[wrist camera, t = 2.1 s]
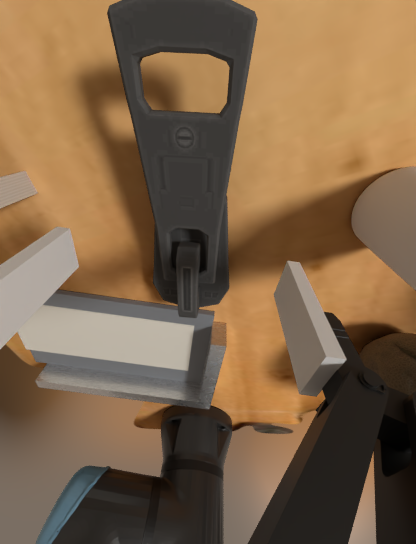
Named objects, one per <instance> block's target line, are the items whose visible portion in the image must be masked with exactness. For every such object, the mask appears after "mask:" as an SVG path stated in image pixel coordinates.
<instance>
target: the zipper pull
mask: <svg viewBox="0 0 416 544" xmlns="http://www.w3.org/2000/svg"><path fill="white" fill-rule="evenodd" d="M107 14H108V19H109V23H110V28H111V32H112V37H113V41H114V46H115V50H116V55H117V59H118V63H119V68H120V72H121V77H122V81H123V86H124V90H125V95H126V99H127V103H128V107H129V111H130V114H131V119H132V123H133V128H134V132H135V136H136V141H137V145H138V150H139V154H140V158H141V163H142V167H143V172H144V176H145V181H146V185H147V189H148V194H149V198H150V203H151V207H152V212H153V216H154V220H155V242H154V275H153V284H154V285H155V287H156V289H157V290H158V292H159V294H160V295H161V297H162V298H163V300H165V301H168V302H171V303H174V304H178V315H179V317H186V318H197V316H198V311H199V307H204V306H210V305H216V304H219V303H220V301H221V300H222V298H223V297H224V295H225V294H226V292H227V291H228V289H229V266H228V214H227V195H226V194H227V188H228V182H229V176H230V171H231V165H232V159H233V154H234V148H235V142H236V136H237V131H238V125H239V120H240V115H241V110H242V106H243V100H244V94H245V88H246V83H247V77H248V71H249V65H250V60H251V54H252V48H253V42H254V36H255V31H256V25H257V17H256V14H255V12H254V11H252V10H250V9H248V8H246V7H244V6H242V5H240V4H238V3H236V2H234V1H232V0H122V1H119V2H117V3H115V4H112V5H110V6H109V9H108V12H107ZM159 52H174V53H196V54H209V55H211V56H214V57H216V58H219V59H221V60H224V61H226V62H227V63H228V65H229V67H230V70H229V83H228V96H227V103H226V105H225V106H224V108H223V109H222V111H221V112H220V114H219V113H200V112H181V111H162V110H152V109H151V107H150V106H149V104H148V103H147V101H146V100H145V98H144V91H143V83H142V75H141V67H140V62H141V60H142V58H143V57H146V56H150V55H153V54H156V53H159Z"/></svg>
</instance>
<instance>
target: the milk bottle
mask: <svg viewBox="0 0 416 544" xmlns="http://www.w3.org/2000/svg"><path fill="white" fill-rule="evenodd" d="M351 223H352V229H353V231H354V233H355V235H356V236H357V237H358V238H359V239H360V240H361V241H362V242H363V243H364V244H365V245H366V246H367V247H368V248H369V249H370V250H371V251H372V252H373V253H375V254H376V255H377V256H378V257H379V258H380V259H381V260H382V261H383V262H384V263H385V264H387V265H388V266H389V267H390V268H391V269H392V270H393V271H394V272H395V273H397V274H398V275H399V276H400V277H401V278H402V279H403V280H404V281H405V282H407V283H408V284H409V285H410V286H411V287H412V288H413V289H414V290H416V167H405V168H401V169H397V170H394V171H392V172H389V173H387V174H385V175H383V176H381V177H380V178H378V179H377V180H375V181H374V182H372V183H371V184H370V185H369V186H368V187H367V188H366V189H365V190H364V191H363V193H362V194H361V195H360V196H359V198H358V200H357V201H356V203H355V206H354V208H353V211H352V217H351Z"/></svg>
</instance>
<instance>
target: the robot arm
mask: <svg viewBox="0 0 416 544" xmlns="http://www.w3.org/2000/svg"><path fill="white" fill-rule="evenodd" d="M78 267H79V265H78V260H77V256H76V252H75V248H74V244H73V240H72V235H71V231H70V229H69V228H62V227H56V228H54V229H53V230H51V231H50V232H48V233H47V234H45V235H44V236H42V237H41V238H40V239H38V240H37V241H35V242H34V243H32V244H31V245H29V246H28V247H26V248H25V249H23V250H22V251H20V252H19V253H17V254H16V255H14V256H13V257H11V258H10V259H8V260H7V261H5V262H4V263H3V264H1V265H0V349H1V348H2V347H3V346H4V345H5V344H6V343H7V342H8V341H9V340H10V339H11V337H12V336H13V335H14V334H15V333H16V332H17V331H18V330H19V329H20V328H21V327H22V326H23V325H24V324H25V323H26V322H27V321H28V320H29V319H30V318H31V317H32V315H33V314H34V313H35V312H36V311H37V310H38V309H39V308H40V307H41V306H42V305H43V304H44V303H45V302H46V301H47V300H48V299H49V298H50V297H51V296H52V295H53V293H54V292H55V291H56V290H57V289H58V288H59V287H60V286H61V285H62V284H63V283H64V282H65V281H66V280H67V279H68V278H69V277H70V276H71V275H72V274H73V273H74V271H75V270H76V269H77V268H78ZM274 297H275V301H276V305H277V309H278V313H279V317H280V321H281V325H282V329H283V332H284V336H285V340H286V344H287V348H288V352H289V356H290V360H291V364H292V367H293V371H294V375H295V379H296V383H297V387H298V391H299V394H302V395H309V396H316V397H317V395H318V394H319V393H320V392H321V390H323V393H324V395H325V398H326V399H325V400H324V401H323V402H322V403H321V404H320V406H319V407H318V408H317V409H316V411H317V414H316V416H315V417H314V419H313V421H312V423H311V425H310V427H309V429H308V431H307V433H306V434H305V436H304V438H303V440H302V442H301V444H300V446H299V448H298V450H297V451H296V453H295V455H294V458H293V459H292V461H291V463H290V465H289V467H288V468H287V470H286V472H285V474H284V476H283V478H282V480H281V482H280V484H279V485H278V487H277V489H276V491H275V493H274V495H273V497H272V499H271V501H270V503H269V505H268V506H267V508H266V510H265V512H264V514H263V516H262V518H261V520H260V521H259V523H258V525H257V527H256V529H255V531H254V533H253V535H252V537H251V538H250V541H249V542H248V544H348V542H349V538H350V534H351V531H352V527H353V523H354V520H355V516H356V513H357V509H358V505H359V501H360V498H361V494H362V490H363V487H364V483H365V479H366V476H367V473H368V469H369V465H370V462H371V458H372V454H373V451H374V479H375V511H376V541H377V544H416V391H415V392H414V393H412V394H411V395H407V394H405V393H402V392H400V391H398V390H395V389H393V388H390V387H388V386H387V385H386V383H385V382H384V380H383V379H382V378H381V377H380V376H379V375H378V374H377V373H375V372H374V371H373V370H371V369H369V368H367V367H365V366H364V364H363V362H362V360H361V358H360V357H359V355H358V353H357V351H356V349H355V347H354V345H353V344H352V342H351V340H350V339H349V336H348V334H347V333H346V332H345V329H344V327H343V325H342V323H341V321H340V320H339V319H338V318H337V317H336V316H335V315H334V314H333V313H328V312H323V310H322V307H321V305H320V303H319V301H318V299H317V297H316V295H315V293H314V291H313V289H312V287H311V285H310V283H309V281H308V279H307V276H306V274H305V272H304V270H303V268H302V266H301V264H300V262H294V261H287V262H286V265H285V268H284V270H283V273H282V275H281V278H280V280H279V283H278V285H277V288H276V291H275V293H274ZM231 436H232V421H231V418H230V417H229V416H228V415H227V414H226V413H225V412H223V411H222V410H220V409H218V408H215V407H212V406H210V408H209V409H201V408H194V407H186V406H178V405H176V406H173V407H171V408H169V409H167V410H166V411H165V412H164V414H163V418H162V423H161V437H162V451H163V464H162V470H161V475H160V477H155V476H149V475H143V474H138V473H133V472H127V471H122V470H117V469H111V468H110V467H109V466H107V467H96V466H85V467H83V468H81V469H80V470H78V472H76V473H75V474H74V476H73V477H72V478H71V480H70V481H69V482H68V484H67V485H66V487H65V489H64V490H63V492H62V493H61V495H60V497H59V498H58V500H57V502H56V504H55V505H54V507H53V509H52V511H51V513H50V515H49V517H48V518H47V520H46V522H45V524H44V526H43V528H42V530H41V532H40V534H39V536H38V538H37V541H36V544H223V468H224V463H225V459H226V455H227V451H228V447H229V443H230V440H231Z"/></svg>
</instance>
